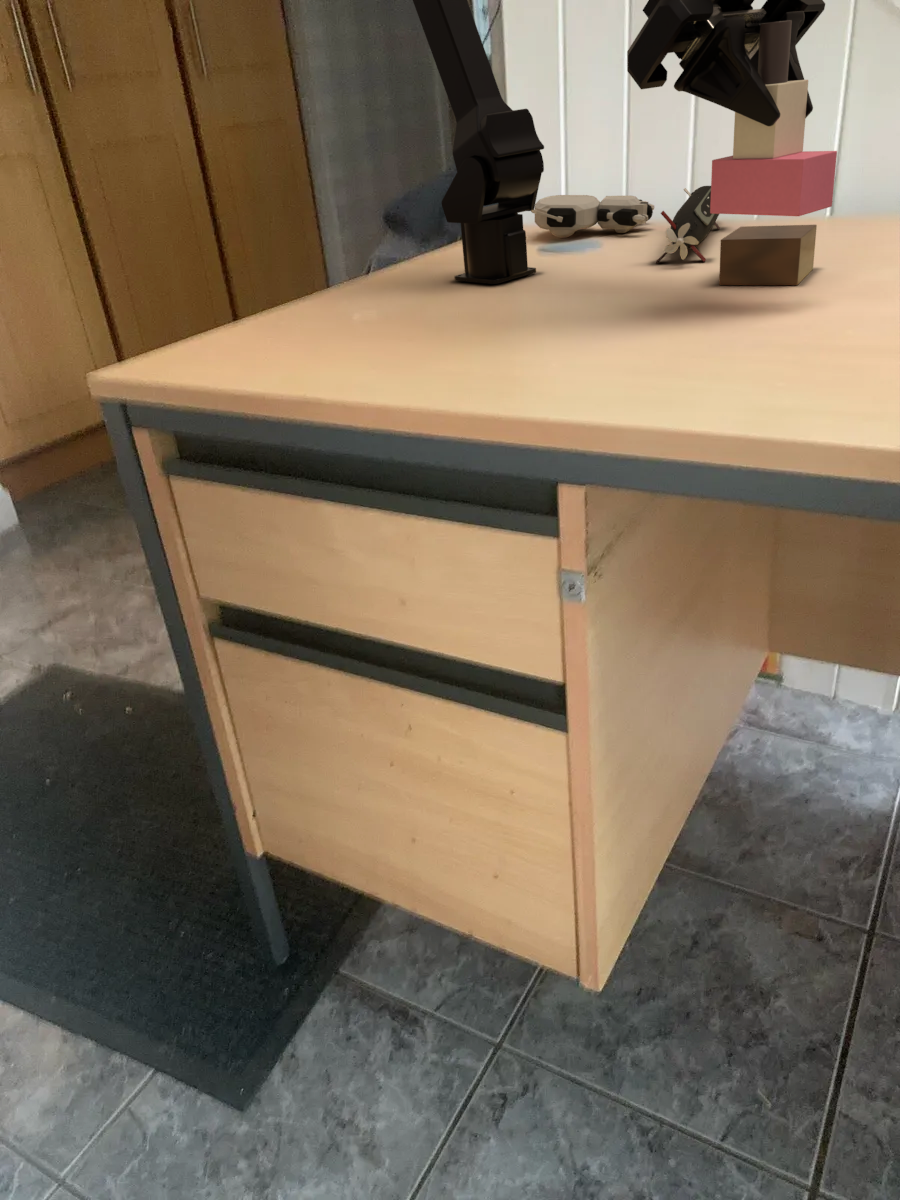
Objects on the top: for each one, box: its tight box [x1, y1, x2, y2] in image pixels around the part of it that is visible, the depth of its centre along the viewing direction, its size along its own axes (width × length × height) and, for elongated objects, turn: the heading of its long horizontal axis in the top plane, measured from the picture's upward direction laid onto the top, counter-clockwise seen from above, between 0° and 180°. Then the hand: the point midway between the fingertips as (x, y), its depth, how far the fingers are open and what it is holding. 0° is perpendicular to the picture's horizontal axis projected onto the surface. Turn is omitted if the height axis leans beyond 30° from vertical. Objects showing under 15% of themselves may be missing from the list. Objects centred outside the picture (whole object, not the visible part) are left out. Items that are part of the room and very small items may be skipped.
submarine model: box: [655, 185, 721, 264], centre depth 106 cm, size 31×7×10 cm
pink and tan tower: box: [710, 20, 838, 217], centre depth 72 cm, size 8×5×13 cm, turn 42°
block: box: [718, 224, 818, 286], centre depth 87 cm, size 7×7×4 cm
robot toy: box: [530, 194, 655, 239], centre depth 120 cm, size 12×4×15 cm
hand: (791, 118), depth 71 cm, fingers closed on pink and tan tower, 4 cm apart
